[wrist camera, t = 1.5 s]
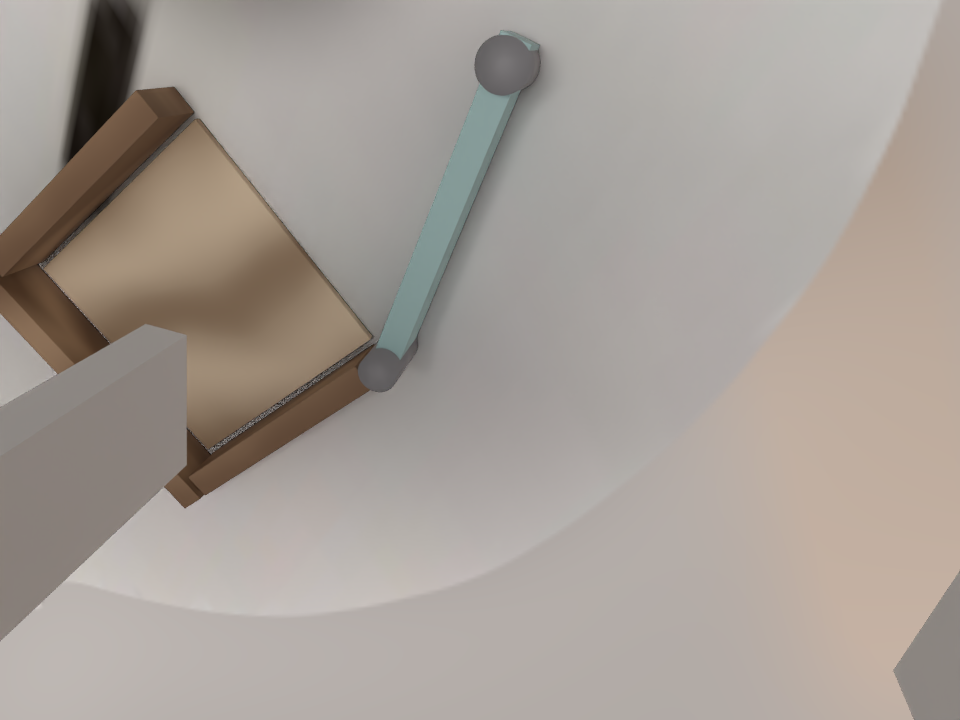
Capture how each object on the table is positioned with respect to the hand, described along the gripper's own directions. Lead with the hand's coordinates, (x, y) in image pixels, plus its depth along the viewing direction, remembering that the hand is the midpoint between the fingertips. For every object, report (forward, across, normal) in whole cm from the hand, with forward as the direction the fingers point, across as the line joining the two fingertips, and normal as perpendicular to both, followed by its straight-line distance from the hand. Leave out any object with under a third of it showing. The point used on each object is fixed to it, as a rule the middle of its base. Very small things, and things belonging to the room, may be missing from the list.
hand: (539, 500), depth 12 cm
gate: (+17, -6, 0) cm, 18 cm away
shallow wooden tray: (+17, -16, -7) cm, 25 cm away
